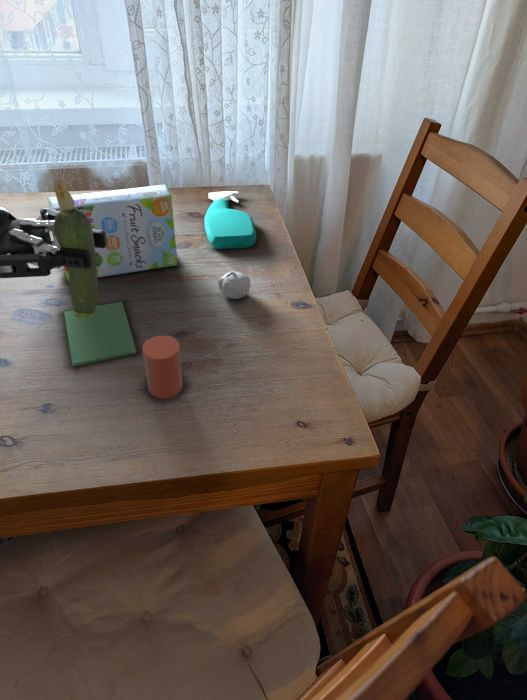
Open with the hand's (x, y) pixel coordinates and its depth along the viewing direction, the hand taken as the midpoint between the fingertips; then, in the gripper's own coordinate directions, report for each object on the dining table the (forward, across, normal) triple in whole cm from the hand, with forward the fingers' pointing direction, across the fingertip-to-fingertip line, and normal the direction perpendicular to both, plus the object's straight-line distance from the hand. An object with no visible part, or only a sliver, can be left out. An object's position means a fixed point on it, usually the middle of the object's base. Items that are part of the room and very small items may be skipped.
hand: (98, 249), depth 65 cm
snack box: (-10, +30, +23) cm, 39 cm away
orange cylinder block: (+7, -1, +23) cm, 24 cm away
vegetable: (-3, 0, +11) cm, 12 cm away
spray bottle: (+7, +52, +23) cm, 58 cm away
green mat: (-7, +10, +23) cm, 26 cm away
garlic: (+13, +25, +23) cm, 36 cm away
